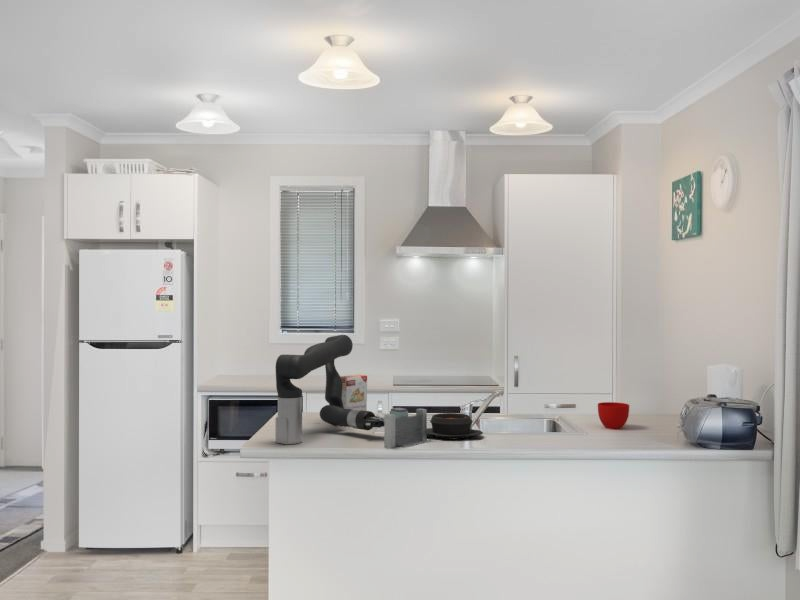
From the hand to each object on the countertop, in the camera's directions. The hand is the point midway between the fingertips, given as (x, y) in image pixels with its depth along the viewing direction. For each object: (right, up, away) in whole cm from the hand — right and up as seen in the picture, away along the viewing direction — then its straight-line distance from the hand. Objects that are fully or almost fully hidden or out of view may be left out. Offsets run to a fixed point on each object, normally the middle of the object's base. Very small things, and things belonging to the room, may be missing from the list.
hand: (394, 424), depth 291 cm
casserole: (+23, -7, +11) cm, 26 cm away
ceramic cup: (+93, -7, +34) cm, 100 cm away
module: (+2, -6, -2) cm, 7 cm away
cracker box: (-19, -6, +41) cm, 45 cm away
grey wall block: (+5, -7, -5) cm, 10 cm away
